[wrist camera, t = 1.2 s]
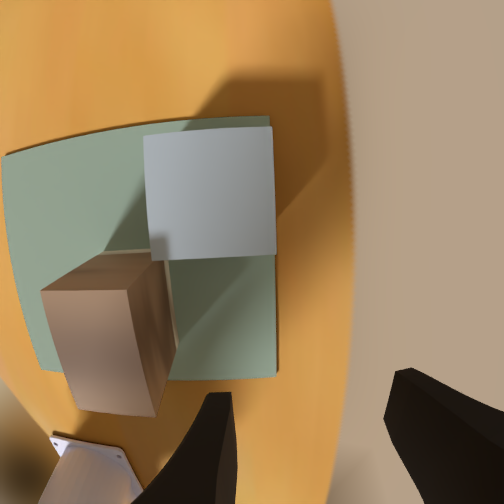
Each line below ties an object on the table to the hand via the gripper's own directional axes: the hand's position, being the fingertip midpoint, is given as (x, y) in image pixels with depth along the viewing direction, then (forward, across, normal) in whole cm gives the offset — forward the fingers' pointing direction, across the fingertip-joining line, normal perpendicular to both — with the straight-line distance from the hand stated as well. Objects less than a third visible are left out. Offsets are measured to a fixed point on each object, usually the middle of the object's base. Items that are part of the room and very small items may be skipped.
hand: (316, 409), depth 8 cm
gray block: (+10, +3, -6) cm, 12 cm away
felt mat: (+10, +9, -2) cm, 14 cm away
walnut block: (+10, +8, 0) cm, 13 cm away
